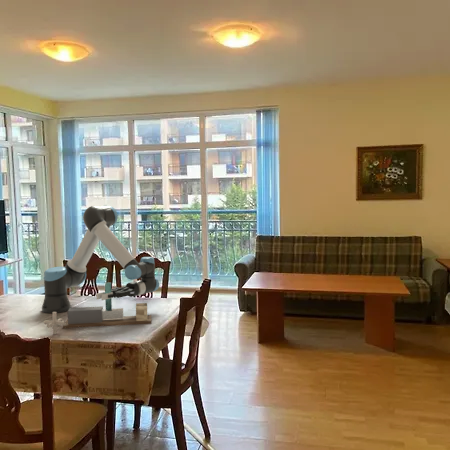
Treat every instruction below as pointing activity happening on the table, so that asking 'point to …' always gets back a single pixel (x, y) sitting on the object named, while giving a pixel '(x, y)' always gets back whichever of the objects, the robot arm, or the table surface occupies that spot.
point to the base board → (111, 322)
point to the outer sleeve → (85, 315)
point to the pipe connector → (54, 322)
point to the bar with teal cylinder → (110, 306)
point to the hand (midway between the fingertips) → (99, 296)
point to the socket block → (141, 311)
